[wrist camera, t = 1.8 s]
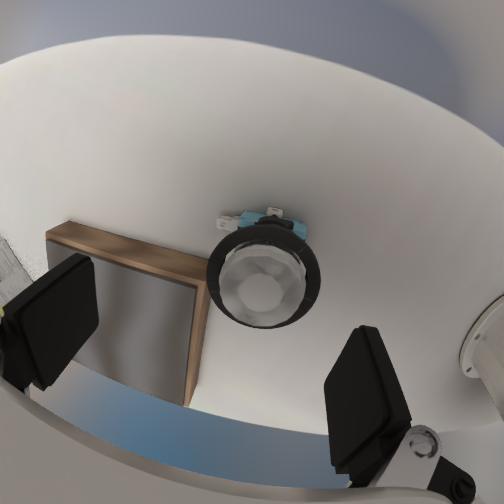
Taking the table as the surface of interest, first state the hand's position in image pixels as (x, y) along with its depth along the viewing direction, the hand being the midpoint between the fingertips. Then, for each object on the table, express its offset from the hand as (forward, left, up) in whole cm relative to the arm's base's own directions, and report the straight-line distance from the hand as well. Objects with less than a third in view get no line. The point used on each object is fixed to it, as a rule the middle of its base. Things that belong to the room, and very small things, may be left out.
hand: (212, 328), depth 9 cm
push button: (-1, 0, -13) cm, 13 cm away
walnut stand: (+10, +12, -13) cm, 21 cm away
